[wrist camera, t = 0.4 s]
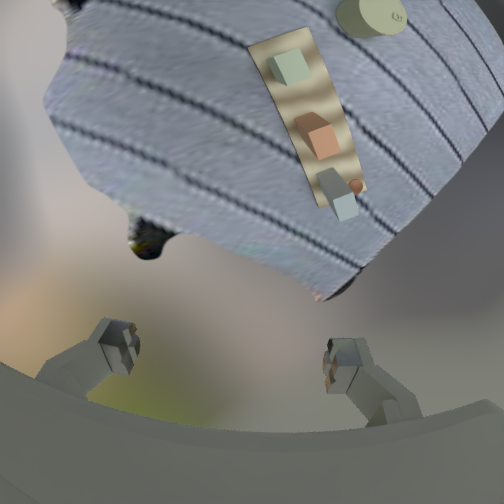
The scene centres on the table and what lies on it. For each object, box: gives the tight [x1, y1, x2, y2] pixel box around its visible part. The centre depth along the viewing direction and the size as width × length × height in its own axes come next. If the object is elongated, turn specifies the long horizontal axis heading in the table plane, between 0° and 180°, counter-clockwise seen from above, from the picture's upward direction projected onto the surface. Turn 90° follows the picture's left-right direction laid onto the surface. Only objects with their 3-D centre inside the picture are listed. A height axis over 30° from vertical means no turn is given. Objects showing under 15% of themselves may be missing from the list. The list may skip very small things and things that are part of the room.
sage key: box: [266, 48, 312, 86], centre depth 38 cm, size 5×4×12 cm
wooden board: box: [247, 27, 367, 209], centre depth 50 cm, size 38×12×2 cm, turn 25°
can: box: [336, 0, 407, 38], centre depth 32 cm, size 9×9×12 cm
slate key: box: [316, 168, 359, 222], centre depth 52 cm, size 5×4×12 cm
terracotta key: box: [294, 112, 341, 160], centre depth 45 cm, size 5×4×12 cm
